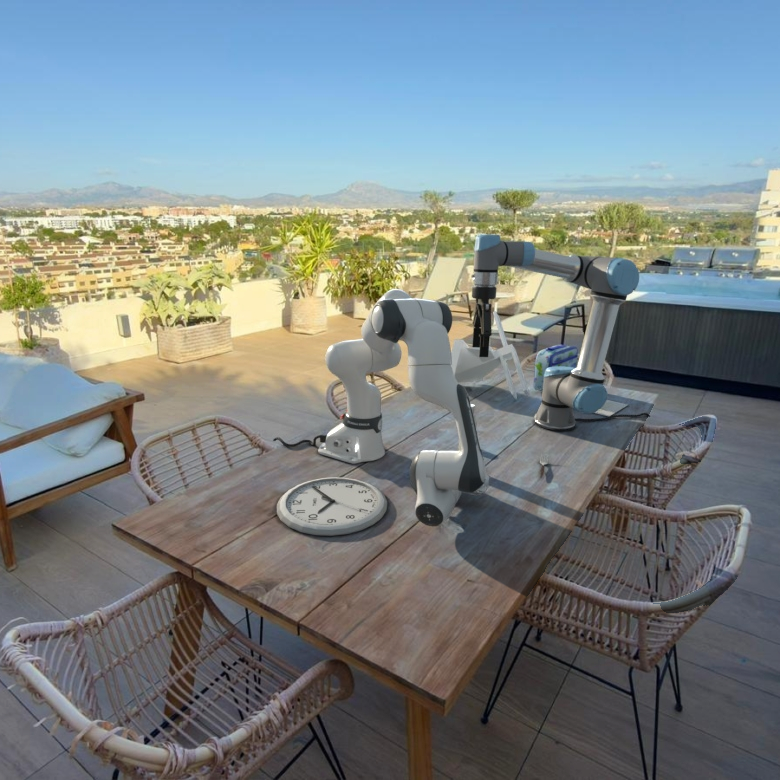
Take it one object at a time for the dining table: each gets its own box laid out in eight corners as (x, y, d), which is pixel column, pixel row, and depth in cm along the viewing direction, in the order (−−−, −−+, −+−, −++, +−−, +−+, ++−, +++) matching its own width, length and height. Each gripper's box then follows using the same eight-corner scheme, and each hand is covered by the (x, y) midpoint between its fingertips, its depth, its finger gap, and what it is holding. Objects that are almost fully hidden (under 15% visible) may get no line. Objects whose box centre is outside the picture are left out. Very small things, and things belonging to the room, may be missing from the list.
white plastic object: (461, 429, 252) (437, 405, 227) (444, 352, 274) (420, 323, 250) (535, 404, 240) (518, 377, 215) (510, 326, 262) (492, 293, 237)
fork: (536, 478, 160) (536, 472, 159) (540, 458, 174) (541, 452, 173) (545, 480, 159) (545, 474, 158) (548, 459, 173) (549, 453, 173)
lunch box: (550, 397, 237) (555, 352, 231) (529, 391, 245) (533, 348, 238) (577, 386, 255) (582, 344, 249) (556, 381, 262) (561, 340, 256)
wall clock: (392, 527, 129) (268, 531, 127) (391, 533, 130) (269, 537, 127) (383, 473, 158) (282, 475, 155) (383, 478, 158) (282, 480, 156)
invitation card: (608, 416, 214) (573, 407, 224) (608, 416, 214) (573, 408, 224) (628, 404, 229) (594, 396, 238) (628, 405, 229) (594, 397, 238)
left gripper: (485, 483, 136) (494, 462, 148) (410, 470, 143) (425, 451, 155) (483, 505, 138) (493, 482, 150) (410, 491, 144) (424, 470, 157)
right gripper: (466, 281, 175) (463, 343, 182) (479, 290, 152) (474, 361, 158) (488, 281, 175) (484, 343, 182) (505, 290, 152) (499, 361, 158)
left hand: (458, 466), depth 153 cm, fingers open, 8 cm apart
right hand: (479, 352), depth 170 cm, fingers open, 13 cm apart
